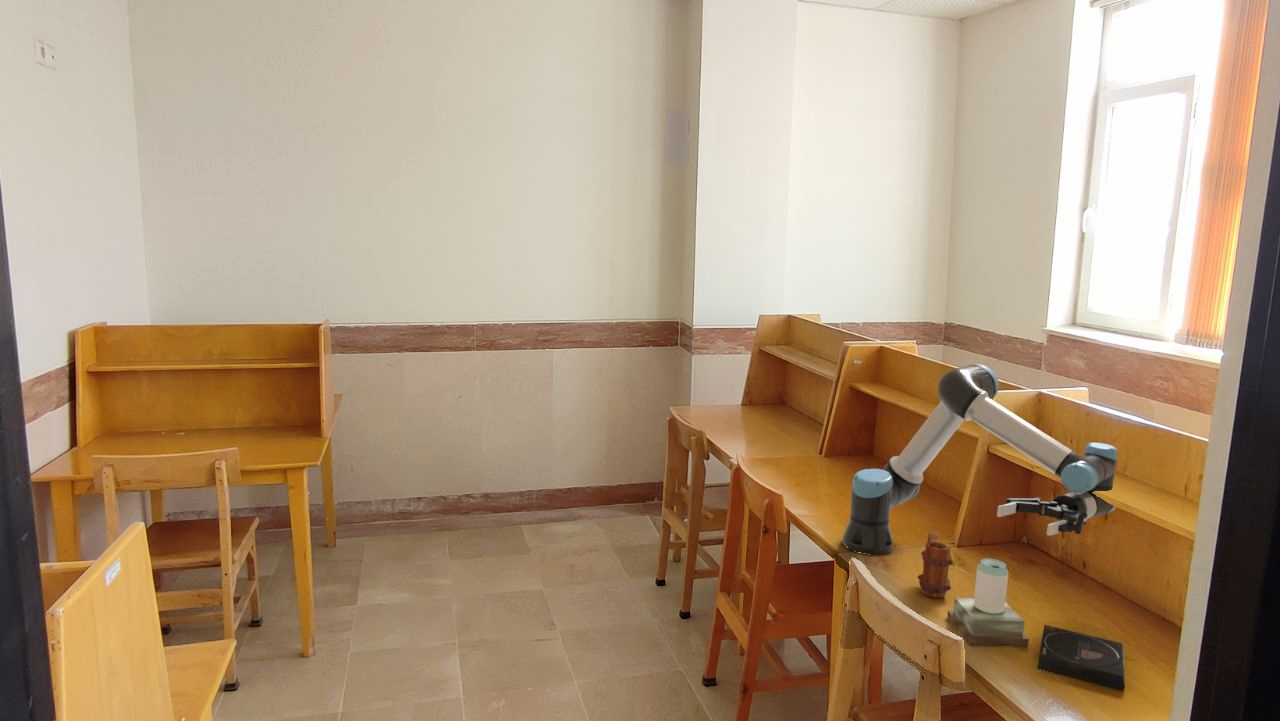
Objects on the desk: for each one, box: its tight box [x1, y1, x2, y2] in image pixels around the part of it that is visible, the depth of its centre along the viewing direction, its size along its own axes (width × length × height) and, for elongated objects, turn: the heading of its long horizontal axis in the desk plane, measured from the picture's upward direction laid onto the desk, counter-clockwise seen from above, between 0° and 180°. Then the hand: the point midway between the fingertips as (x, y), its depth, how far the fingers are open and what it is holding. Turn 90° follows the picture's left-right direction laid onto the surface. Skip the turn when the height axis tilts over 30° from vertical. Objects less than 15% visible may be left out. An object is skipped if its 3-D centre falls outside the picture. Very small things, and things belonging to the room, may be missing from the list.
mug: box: [917, 531, 954, 598], centre depth 224 cm, size 15×8×15 cm, turn 168°
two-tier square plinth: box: [946, 597, 1030, 648], centre depth 202 cm, size 14×14×6 cm
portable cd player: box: [1037, 624, 1126, 692], centre depth 189 cm, size 16×17×4 cm
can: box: [973, 558, 1009, 614], centre depth 201 cm, size 7×7×12 cm
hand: (1022, 520), depth 203 cm, fingers open, 13 cm apart
